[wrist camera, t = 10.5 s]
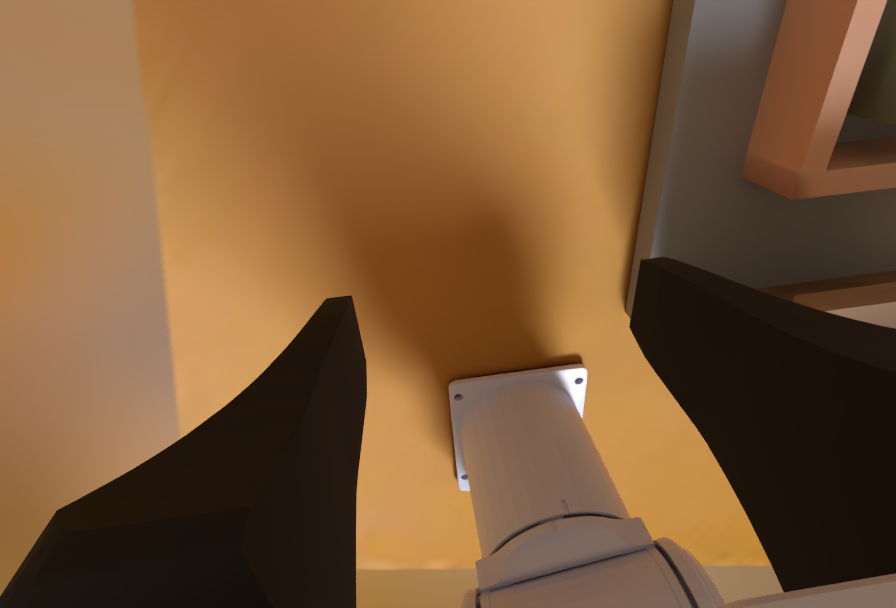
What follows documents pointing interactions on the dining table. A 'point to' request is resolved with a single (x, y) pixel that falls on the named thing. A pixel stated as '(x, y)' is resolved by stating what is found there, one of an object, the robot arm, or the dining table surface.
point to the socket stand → (768, 146)
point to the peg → (878, 74)
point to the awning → (847, 296)
